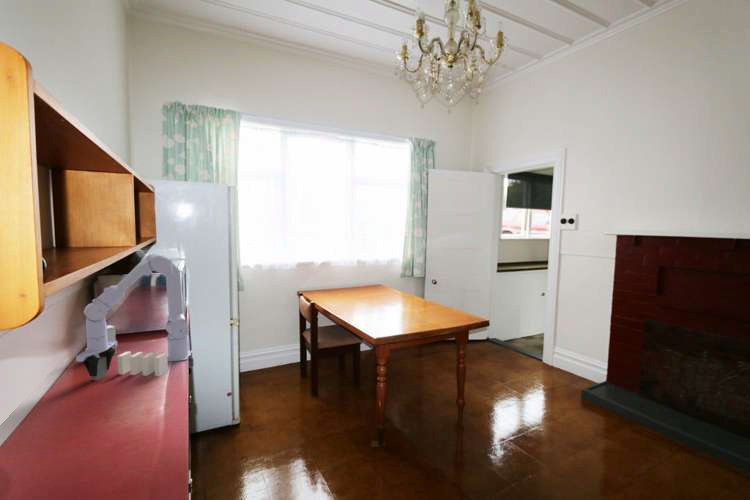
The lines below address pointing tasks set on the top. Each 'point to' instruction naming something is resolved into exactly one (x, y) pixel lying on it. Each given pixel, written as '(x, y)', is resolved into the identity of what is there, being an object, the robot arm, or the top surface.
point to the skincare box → (110, 336)
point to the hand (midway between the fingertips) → (99, 372)
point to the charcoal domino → (101, 369)
